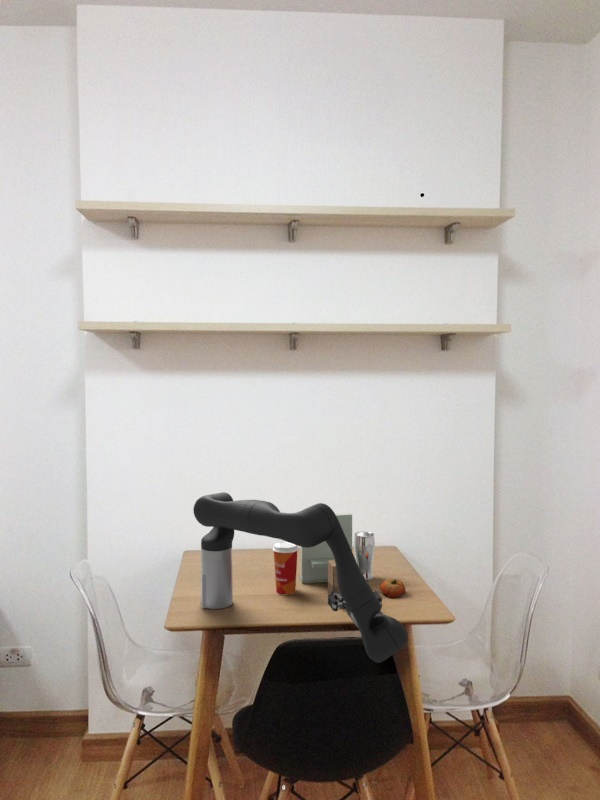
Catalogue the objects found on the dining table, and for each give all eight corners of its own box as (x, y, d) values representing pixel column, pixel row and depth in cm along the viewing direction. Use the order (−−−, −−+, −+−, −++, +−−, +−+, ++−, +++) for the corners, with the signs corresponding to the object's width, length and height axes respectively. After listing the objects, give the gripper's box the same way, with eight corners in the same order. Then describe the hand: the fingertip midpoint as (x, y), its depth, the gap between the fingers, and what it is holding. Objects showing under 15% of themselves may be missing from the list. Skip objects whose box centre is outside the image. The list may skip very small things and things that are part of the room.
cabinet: (333, 607, 186) (333, 567, 185) (327, 599, 193) (327, 560, 192) (350, 606, 187) (350, 566, 186) (343, 597, 194) (343, 559, 193)
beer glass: (350, 579, 210) (350, 535, 209) (357, 573, 217) (358, 530, 216) (370, 582, 207) (370, 537, 207) (377, 576, 214) (377, 532, 213)
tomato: (379, 594, 193) (382, 571, 197) (377, 602, 199) (380, 580, 203) (405, 599, 192) (408, 577, 196) (402, 607, 197) (405, 585, 202)
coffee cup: (269, 588, 202) (269, 542, 201) (293, 585, 205) (293, 540, 204) (277, 597, 194) (277, 549, 193) (302, 594, 197) (302, 546, 196)
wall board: (305, 589, 201) (305, 521, 200) (299, 578, 212) (299, 513, 210) (356, 585, 205) (356, 518, 204) (348, 575, 215) (348, 511, 214)
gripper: (391, 597, 165) (371, 576, 181) (338, 601, 162) (323, 580, 178) (390, 625, 165) (371, 602, 181) (338, 629, 163) (323, 606, 178)
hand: (347, 591), depth 180 cm, fingers open, 8 cm apart
